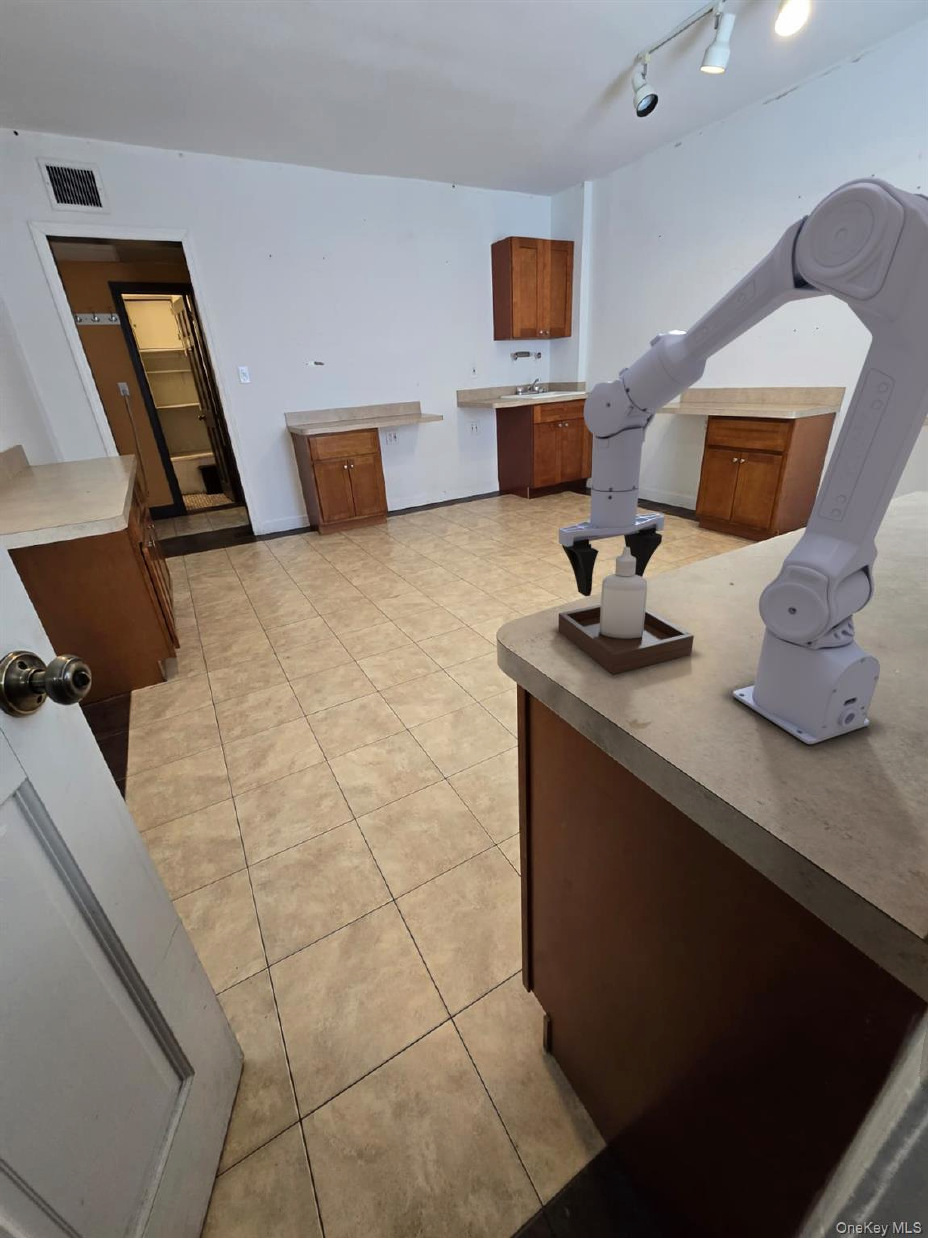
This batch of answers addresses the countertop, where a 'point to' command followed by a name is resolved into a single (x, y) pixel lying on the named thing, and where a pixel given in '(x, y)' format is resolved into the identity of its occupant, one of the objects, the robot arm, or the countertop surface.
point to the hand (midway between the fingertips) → (608, 588)
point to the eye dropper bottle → (623, 600)
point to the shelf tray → (625, 640)
